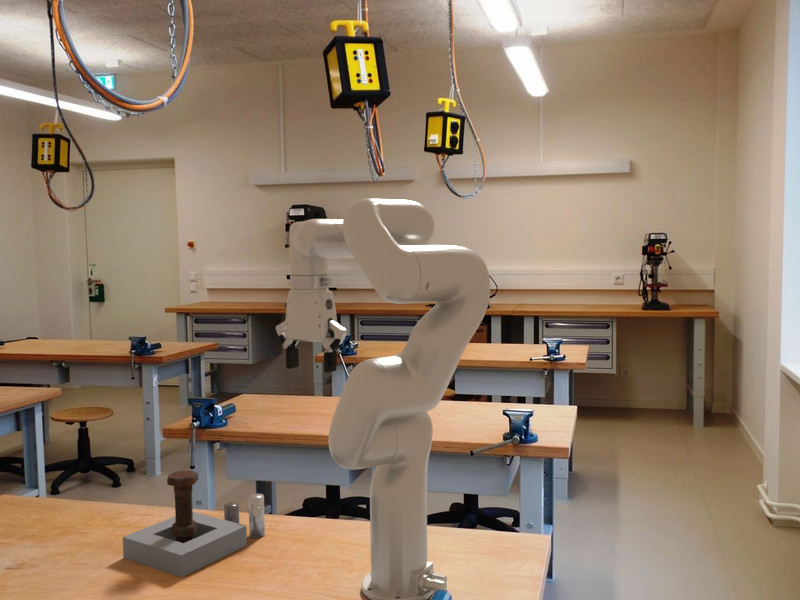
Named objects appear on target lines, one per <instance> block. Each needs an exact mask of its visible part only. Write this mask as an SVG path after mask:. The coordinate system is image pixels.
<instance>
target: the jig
mask: <svg viewBox="0 0 800 600" xmlns="http://www.w3.org/2000/svg"><path fill="white" fill-rule="evenodd" d="M175 517H176V516H173V517H170V518H167V519H165V520H163V521H160V522H157V523H155V524H152V525H149V526H146V527H144V528H142V529H139V530H137V531H135V532H132V533H129V534H127V535H123V536H122V551H123V552H122V557H123V559H125V558H126V559H125V560H128V561H131V562H134V563H138V564H141V565H144V566H147V567H150V568H153V569H154V570H159V571H162V572H165V573H168V574H170V575H174V576H176V577H179V578H183V577H186V576H189V575H190V574H193V573H194V572H196V571H198V570H200V569H202V568H203V569H204V568H205V567H208V566H209V565H211V564H212V563H214V562H216V561H219V560H222V559H223V558H225V557H227V556H229V555H231V554H232V553H235V552H237V551H239V550H241V549H243V548H245V547H247V546H248V539H247V537H248V535H247V525H245V524H241V523H239V524H238V523H234V522H231V521H227V520H224V518H219V517H214V516H211V515H208V514H203V513H199V512H195V511H193V520H194V521H196V522H197V531H196V533H195V534H194V535H193V539H192V540H190V541H188V542H185V543H181V542H177V541H176V537H175V536H173V535H172V534H171V527H172V525H173V523H175V522H176V520H175V519H176V518H175Z"/></svg>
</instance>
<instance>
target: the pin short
mask: <svg viewBox="0 0 800 600" xmlns="http://www.w3.org/2000/svg"><path fill="white" fill-rule="evenodd" d="M223 515H224V516H223V520H227V521H231V522H234V523H238V524H240V503H239V502H235V501H233V502H231V501H230V502H226V503H224V504H223Z"/></svg>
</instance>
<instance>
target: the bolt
mask: <svg viewBox="0 0 800 600" xmlns="http://www.w3.org/2000/svg"><path fill="white" fill-rule="evenodd" d="M166 479H167V480H166V481H167V482H166V483H167V486H172V487H173V493H174V503H175V504H174V509H175V510H174V512H175V516H176V517H175V516H174V517H175V518H176V519H175V520H176V522H175V523H173V525H172V527H171V534H172V535H173V536H175V537H176V541H177V542H181V543H185V542H188V541H190V540H192V539H193V535H194V534H195V533H196V531H197V522H196V521H194V520H193V512H194V511H193V486H194V485H195V484H196V483H197V482H198V481H199V473H198V472H196V471H195V470H177V471H174V472H172V473H169V475H168V476H167V478H166Z"/></svg>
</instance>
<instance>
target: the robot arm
mask: <svg viewBox="0 0 800 600" xmlns="http://www.w3.org/2000/svg"><path fill="white" fill-rule="evenodd" d="M434 221H435V220H434V217H433V216H432V213H431V212H430V211H429V209H428V208H427V207H425V206H424V205H423V204H421V203H420V202H417V201H413V200H409V199H400V198H399V199H398V198H397V199H391V198H390V199H389V198H368V197H367V198H362V199H359V200H356V201H354V202H353V203H352V204H351V205H350V206H349V207H348V208H347V210H346V212H345V214H344V216H343V218H312V219H311V218H310V219H308V220H305V221H296V222H293V223H292V224H291V225H290V226H289V232H288V234H289V236H288V237H289V278H290V280H289V281H290V285H289V286H290V290H289V291H288V294H287V298H286V299H287V300H286V307H285V320H284V321H282V322H281V323H279V324H278V325H276V326H275V331H276V333H277V335H278V340H279V341H280V343H282V348H283V349H284V350H285V368H286V369H287V370H290V369H295V368H298V367H299V361H300V359H299V358H300V357H299V347H296V346H298V343H299V342H311V343H321V345H322V346H323V348H324V349H325V352H323V372H324V373H331V372H332V373H333V372H336V371H337V366H338V358H337V357H338V355H337V352H338V351H339V350H340V348H341V347H342V345H343V344H344V343H345V341H344V340H345V339H346V336H347V334H348V330H347V329H346V328H345V327H343V326H342V325H340V323H338V317H337V308H336V303H335V298H334V293H333V291H332V290H330V289H329V286H332V284H333V280H332V278H329V260H331V259H332V260H333V259H355V261H356V263H357V265H358V266H359V268H360V269H361V271H362V272H363V274H364V276H365V277H366V279H367V280H368V282H369V283H370V285H371V286H372V288H373V289H374V291H375V292H376V293H377V295H378V296H379V297H380V298H381V299H383V300H385V301H386V302H388V303H392V304H396V305H397V304H399V305H402V304H403V305H404V304H421V303H422V304H423V303H436V304H435V305H433V307H432V308H431V309H429V311H427V312H426V313H425V314H424V315H423V316H422V317H421V318H420V319H419V320H418V321H417V323H416V324H415V326H414V327H413V328H412V330H411V331H410V333H409V337H408V339H407V342H406V344H405V346H404V348H403V349H402V351H401V352H400V353H396V354H394V355H389V356H380V357H373V358H369V359H365V360H363V361H361V362H359V363H358V364H356V366H354V367H353V369H351V371H350V372H349V374H348V376H347V379H346V380H345V383H344V387H343V389H342V392H341V394H340V397H339V400H338V403H337V406H336V409H335V410H334V414H333V417H332V420H331V422H330V425H329V432H328V449H329V453H330V456H331V458H332V459H333V461H334V462H335V463H336V464H337V465H338V466H339V467H341V468H343V469H345V470H346V469H347V470H350V471H351V470H353V471H354V470H361V469H367V468H368V469H369V468H371V467H373V468H374V467H375V469H374V472H373V475H372V477H371V481H370V488H369V511H370V512H369V515H370V516H369V517H370V518H369V522H370V523H369V525H370V527H369V529H370V572H369V573H368V574H366V575H365V577H363V579H362V581H361V589H362V590H361V591H362V593H363V594H364V596H365V597H367V599H368V600H429V599H430V598H431V597H432V596H431V594H432V592H433V591H434V590H436V589H445V590H447V587H448V585H447V580H448V579H447V578H448V577H447V575H444V574H440V573H435V570H434V562H433V561H428V470H429V469H428V468H429V467H428V465H429V457H430V454H431V448H432V443H433V437H434V436H433V435H434V434H433V431H434V430H433V422H432V419H431V417H430V414H429V413H428V412H429V411H433V409H435V408H436V407H437V406H438V405H439V403H440V402H441V400H442V398H443V397H444V395H445V393H446V391H447V389H448V386H449V385H450V382H451V380H452V379H453V375H454V373H455V372H456V369H457V368H458V365H459V362H460V361H461V359H462V356H463V354H464V352H465V350H466V349H467V346H468V344H469V343H470V341H471V340H472V338H473V336H474V335H475V334H476V331H477V330H478V329H479V327H480V325H481V323H482V321H483V319H484V317H485V314H486V312H487V310H488V306H489V303H490V295H491V280H490V273H489V270H488V266H487V263H486V262H485V261H484V259H483V258H482V257H481V255H480V254H478V253H477V252H476V251H474V250H472V249H470V248H467V247H465V246H461V245H459V246H458V245H452V244H449V245H448V244H428V243H429V241H431V239H432V237H433V235H434V233H435V222H434ZM430 596H431V597H430ZM429 597H430V598H429Z"/></svg>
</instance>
